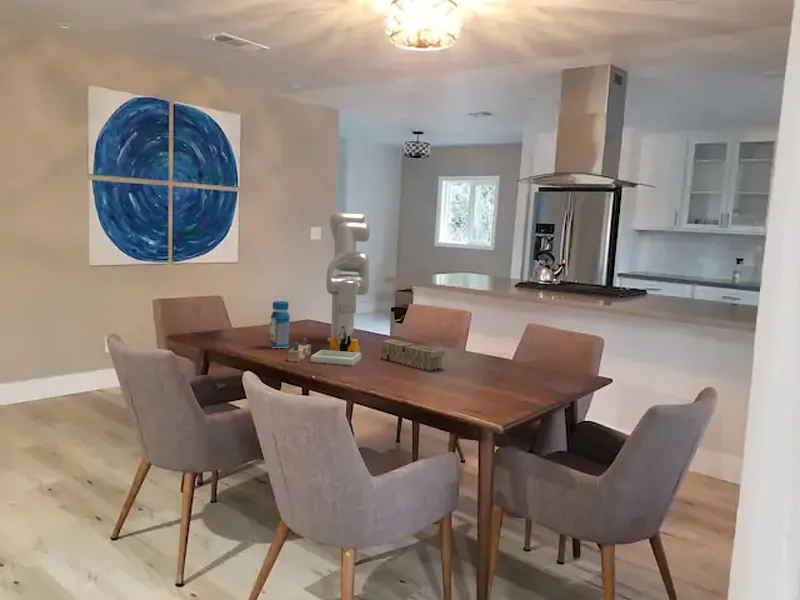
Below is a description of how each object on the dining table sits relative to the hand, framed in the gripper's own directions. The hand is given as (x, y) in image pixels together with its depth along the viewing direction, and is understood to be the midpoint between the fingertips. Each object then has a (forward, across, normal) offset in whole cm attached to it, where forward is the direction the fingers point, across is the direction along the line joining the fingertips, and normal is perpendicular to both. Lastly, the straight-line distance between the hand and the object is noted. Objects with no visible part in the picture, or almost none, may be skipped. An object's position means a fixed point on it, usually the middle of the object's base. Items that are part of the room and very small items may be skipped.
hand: (345, 350), depth 272 cm
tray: (+1, +15, +1) cm, 15 cm away
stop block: (+1, +15, -15) cm, 21 cm away
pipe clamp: (+1, 0, 0) cm, 1 cm away
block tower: (+1, +8, +30) cm, 31 cm away
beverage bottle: (+1, -1, -30) cm, 30 cm away
